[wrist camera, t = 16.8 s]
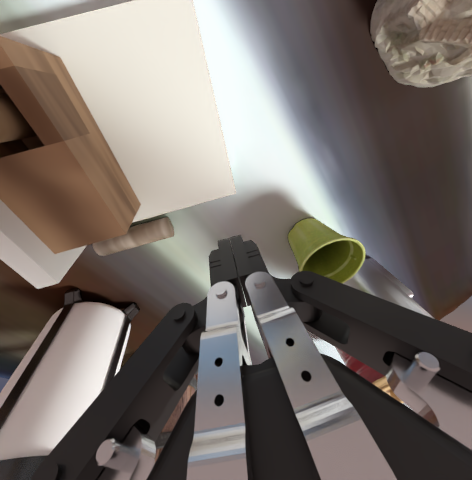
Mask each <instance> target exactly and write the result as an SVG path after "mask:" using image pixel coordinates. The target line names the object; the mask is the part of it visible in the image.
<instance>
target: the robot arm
mask: <svg viewBox="0 0 472 480" xmlns="http://www.w3.org/2000/svg"><path fill="white" fill-rule="evenodd" d="M230 241H231V244H230ZM231 245H232V247H231ZM218 246H219V249H217V250H213V251H211V253H210V255H209V266H210V281H211V288H210V289H209V291H208V294H207V297H206V298H205V299H204V300H203V301H201V302H199V303H198V304H196V305H194V306H192V305H190V304H188V303H181V304H178V305H176V306H175V307H173V308H172V309H171V310H170V311H169V312H168V313H167V314H166V316H165V317H164V318H163V319H162V320H161V322H160V323H159V324H158V325H157V326H156V328H155V329H154V330H153V331H152V332H151V334H150V335H149V336H148V337H147V338H146V339H145V341H144V342H143V343H142V344H141V345H140V347H139V348H138V349H137V350H136V351H135V353H134V354H133V355H132V356H131V357H130V358H129V360H128V361H127V362H126V363H125V364H124V366H123V367H122V368H121V369H120V370H119V372H118V373H117V374H116V375H115V376H114V378H113V379H112V380H111V381H110V382H109V383H108V385H107V386H106V387H105V388H104V389H103V391H102V392H101V393H100V394H99V395H98V397H97V398H96V399H95V400H94V401H93V403H92V404H91V405H90V406H89V407H88V408H87V410H86V411H85V412H84V413H83V414H82V416H81V417H80V418H79V419H78V420H77V422H76V423H75V424H74V425H73V426H72V427H71V429H70V430H69V431H68V432H67V433H66V435H65V436H64V437H63V438H62V439H61V441H60V442H59V443H58V444H57V445H56V447H55V448H54V449H53V450H52V451H51V452H50V454H49V455H48V456H47V457H46V458H45V460H44V461H43V462H42V463H41V464H40V466H39V467H38V468H37V470H36V471H35V473H34V474H33V476H32V478H31V479H30V480H472V333H470V332H468V331H465V330H462V329H460V328H457V327H455V326H452V325H449V324H447V323H444V322H441V321H439V320H436V319H434V318H433V317H432V316H431V315H430V314H429V313H428V312H427V311H425V310H424V309H423V308H422V307H421V306H420V305H419V304H418V303H416V302H415V301H414V300H413V299H412V297H413V292H412V291H411V290H409V289H408V288H407V287H406V286H405V285H404V284H402V283H401V282H400V281H399V280H398V279H397V278H395V277H394V276H393V275H392V274H391V273H390V272H388V271H387V270H386V269H385V268H384V267H383V266H381V265H380V264H379V263H378V262H377V261H376V260H374V259H373V258H370V259H366V258H365V260H364V262H363V264H362V266H361V268H360V269H359V270H358V272H357V273H356V274H355V275H354V276H353V277H352V278H350V279H349V280H348V281H346V282H345V283H340V282H337V281H335V280H332V279H330V278H327V277H324V276H322V275H319V274H316V273H314V272H311V271H300V272H297V273H296V274H294V275H293V276H292V278H291V279H278V278H275V277H273V276H271V275H270V274H269V273H268V271H267V268H266V266H265V264H264V261H263V259H262V257H261V255H260V252H259V250H258V247H257V245H256V244H255V243H254V242H253V241H251V240H250V241H246V242H243V240H242V237H241V235H238V236H234V237H231V238H230V240H229V238H227V239H223V240H220V241H218ZM232 249H233V251H232ZM233 253H234V254H233ZM241 285H242V286H241ZM242 288H243V290H242ZM243 292H244V294H243ZM244 295H245V298H246V302H247V305H248V306H250V305H251V307H252V311H253V314H254V318H255V321H256V324H257V326H258V329H259V332H260V335H261V338H262V340H263V343H264V346H265V349H266V352H267V355H268V358H269V359H268V360H266V361H264V362H263V363H261V364H259V365H252V363H251V359H250V353H249V346H248V339H247V331H246V324H245V319H244V317H245V316H244V311H243V307H247V306H246V302H245V298H244ZM307 330H308V331H309V332H311V333H313V334H315V335H316V336H318V337H320V338H321V339H323V340H325V341H326V342H328V343H330V344H332V345H333V346H335V347H337V348H338V349H340V350H342V351H343V352H345V353H347V354H348V355H350V356H352V357H354V358H355V359H357V360H359V361H360V362H362V363H364V364H365V365H367V366H369V367H371V368H372V369H374V370H376V371H377V372H379V373H381V374H382V375H384V376H386V378H387V382H388V385H389V387H390V388H391V390H392V391H393V393H394V394H395V395H396V396H397V397H398V398H399V399H400V400H402V401H403V402H404V403H406V404H407V405H408V406H409V407H410V408H411V409H413V410H411V409H410V408H408V407H406V406H405V405H404V404H402V403H401V402H399V401H398V400H396V399H395V398H393V397H392V396H390V395H389V394H387V393H386V392H384V391H383V390H381V389H380V388H378V387H377V386H375V385H374V384H372V383H371V382H369V381H368V380H366V379H365V378H363V377H362V376H360V375H359V374H357V373H356V372H354V371H353V370H351V369H350V368H348V367H347V366H345V365H344V364H342V363H341V362H339V361H337V360H335V359H334V358H332V357H329V356H327V355H324V354H320V353H319V351H318V349H317V348H316V346H315V344H314V342H313V341H312V339H311V337H310V335H309V334H308V332H307ZM197 370H198V382H197V390H196V391H195V393H194V394H193V395H192V396H191V398H190V399H189V401H188V402H187V404H186V406H185V408H184V409H183V411H182V413H181V415H180V417H179V419H178V421H177V423H176V425H175V426H174V428H173V430H172V432H171V434H170V436H169V438H168V440H167V442H166V443H165V445H164V447H163V449H162V451H161V453H160V455H159V457H158V459H157V460H156V462H155V456H156V447H155V441H156V440H157V438H158V436H159V435H160V433H161V431H162V430H163V428H164V426H165V424H166V423H167V421H168V419H169V418H170V416H171V414H172V413H173V411H174V409H175V407H176V406H177V404H178V402H179V401H180V399H181V397H182V396H183V394H184V392H185V391H186V389H187V387H188V385H189V384H190V382H191V380H192V379H193V377H194V375H195V374H196V372H197ZM154 463H155V464H154Z"/></svg>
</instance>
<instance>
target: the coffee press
mask: <svg viewBox="0 0 472 480" xmlns="http://www.w3.org/2000/svg"><path fill="white" fill-rule="evenodd" d="M73 303H74V304H73ZM139 310H140V308H139V307H138V305H137V304H136V303H132V304H130V305H129V306H128V307H127V308H125V309H124V310H122V311H121V310H119V309H117V308H115V307H113V306H111V305H107V304H104V303H98V302H83V300H82V297H81V291H80V289H78V288H75V289H71V290H67V291H66V292H65V304H64V307H63V308H62V309H60V310H58V311H57V312H56V313H54V314H53V316H52V317H51V318H50V320H49V321H48V322H47V324H46V325H45V327H44V328H43V330H42V331H41V333H40V334H39V336H38V337H37V339H36V340H35V342H34V343H33V345H32V346H31V348H30V349H29V351H28V352H27V354H26V355H25V357H24V358H23V360H22V361H21V363H20V364H19V366H18V367H17V369H16V370H15V372H14V373H13V375H12V376H11V378H10V379H9V381H8V382H7V384H6V385H5V387H4V388H3V390H2V391H1V393H0V480H30V479H31V478H32V476H33V474H34V473H35V471H36V470H37V468H38V467H39V466H40V464H41V463H42V462H43V461H44V460H45V458H46V457H47V456H48V455H49V454H50V452H51V451H52V450H53V449H54V448H55V447H56V445H57V444H58V443H59V442H60V441H61V439H62V438H63V437H64V436H65V435H66V433H67V432H68V431H69V430H70V429H71V427H72V426H73V425H74V424H75V423H76V422H77V420H78V419H79V418H80V417H81V416H82V414H83V413H84V412H85V411H86V410H87V408H88V407H89V406H90V405H91V404H92V403H93V401H94V400H95V399H96V398H97V397H98V395H99V394H100V393H101V392H102V391H103V389H104V388H105V387H106V386H107V385H108V383H109V382H110V381H111V380H112V379H113V378H114V376H115V375H116V374H117V373H118V372H119V370H120V367H121V363H122V359H123V356H124V352H125V348H126V345H127V341H128V337H129V333H130V328H131V325H130V322H131V320H132V319H133V317H134V316H135V315H136V314H137V313H138V312H139ZM127 314H128V315H127ZM126 315H127V316H126Z"/></svg>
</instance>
